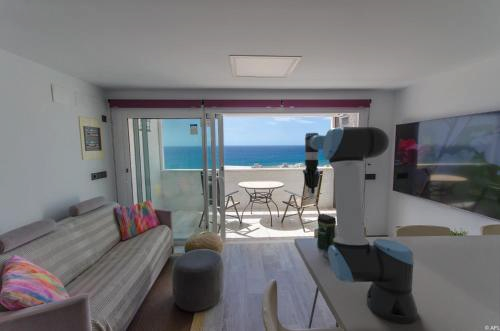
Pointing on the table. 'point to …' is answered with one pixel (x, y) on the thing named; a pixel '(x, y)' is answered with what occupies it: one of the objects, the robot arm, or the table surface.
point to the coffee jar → (326, 231)
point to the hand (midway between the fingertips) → (311, 198)
